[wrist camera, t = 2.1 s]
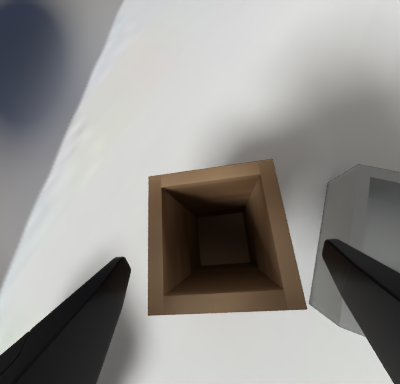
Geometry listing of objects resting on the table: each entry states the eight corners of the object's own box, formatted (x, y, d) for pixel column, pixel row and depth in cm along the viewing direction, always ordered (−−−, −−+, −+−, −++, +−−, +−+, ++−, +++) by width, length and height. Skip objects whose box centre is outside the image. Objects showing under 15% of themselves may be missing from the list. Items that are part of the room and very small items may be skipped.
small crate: (258, 268, 15) (307, 309, 6) (196, 272, 16) (147, 315, 6) (247, 206, 17) (272, 158, 7) (191, 213, 17) (148, 176, 8)
